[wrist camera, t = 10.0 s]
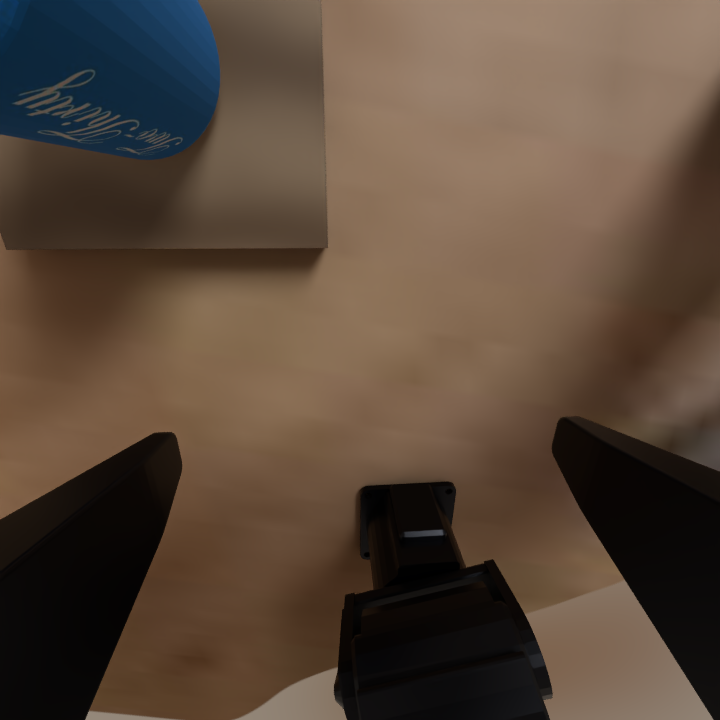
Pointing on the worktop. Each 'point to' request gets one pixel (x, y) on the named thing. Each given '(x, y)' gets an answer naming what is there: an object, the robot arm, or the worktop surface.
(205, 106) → the beverage can
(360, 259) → the worktop surface
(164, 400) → the worktop surface
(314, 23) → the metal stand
